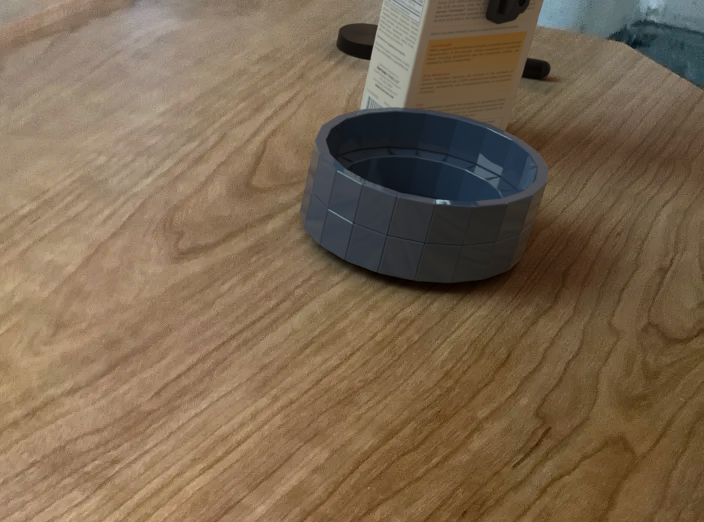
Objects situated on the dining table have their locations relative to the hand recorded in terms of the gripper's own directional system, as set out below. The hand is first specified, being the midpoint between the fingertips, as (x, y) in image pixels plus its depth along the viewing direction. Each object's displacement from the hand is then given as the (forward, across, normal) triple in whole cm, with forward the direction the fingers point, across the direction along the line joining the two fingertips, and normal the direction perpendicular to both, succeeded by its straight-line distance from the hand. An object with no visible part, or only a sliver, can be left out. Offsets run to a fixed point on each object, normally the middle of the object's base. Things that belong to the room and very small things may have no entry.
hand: (461, 2), depth 83 cm
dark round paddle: (+8, +9, -11) cm, 17 cm away
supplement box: (+9, 0, 0) cm, 9 cm away
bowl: (+8, -9, +11) cm, 17 cm away
